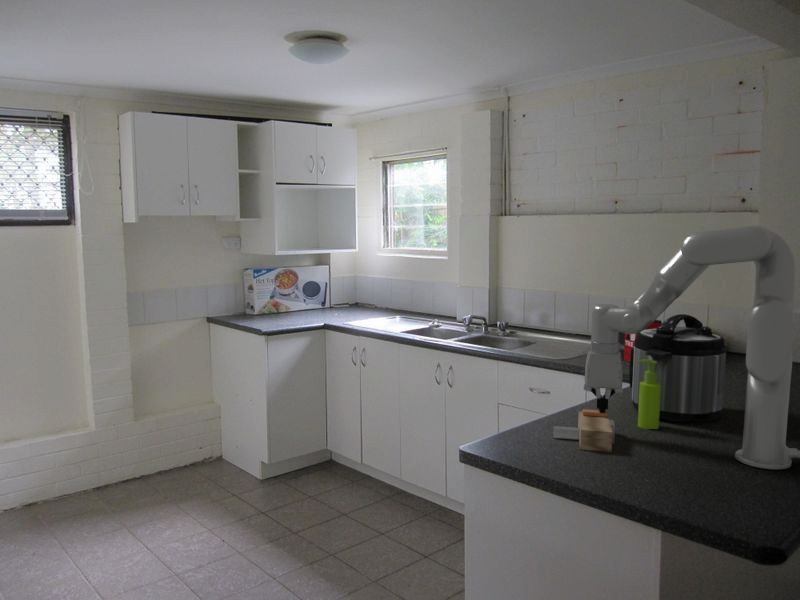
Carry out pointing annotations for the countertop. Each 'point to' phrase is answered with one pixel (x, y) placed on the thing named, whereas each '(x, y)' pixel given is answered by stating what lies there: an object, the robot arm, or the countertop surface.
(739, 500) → the countertop surface
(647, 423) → the soap dispenser
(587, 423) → the block
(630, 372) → the pressure cooker
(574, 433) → the lynch pin
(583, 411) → the bar
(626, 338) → the cleaning product box
